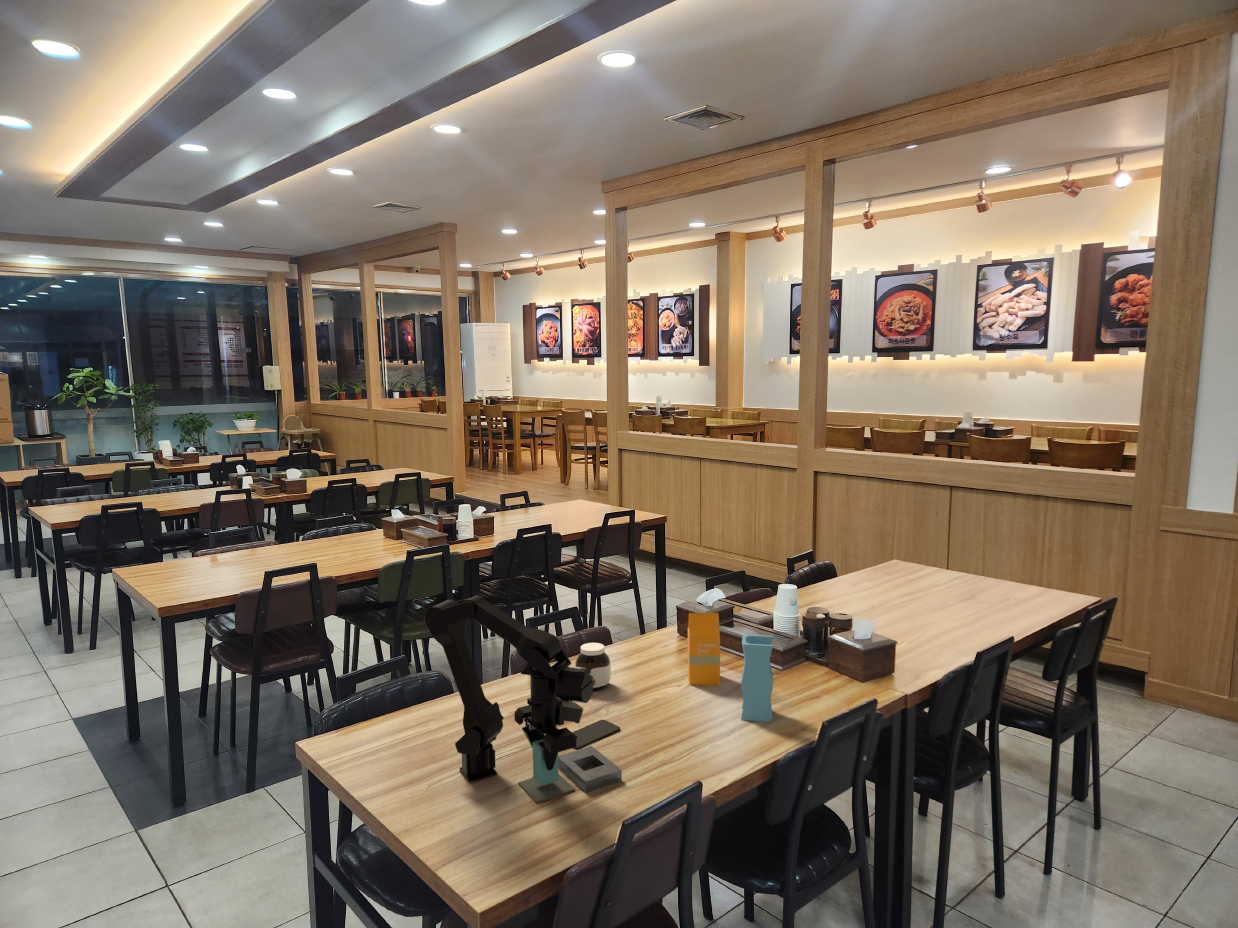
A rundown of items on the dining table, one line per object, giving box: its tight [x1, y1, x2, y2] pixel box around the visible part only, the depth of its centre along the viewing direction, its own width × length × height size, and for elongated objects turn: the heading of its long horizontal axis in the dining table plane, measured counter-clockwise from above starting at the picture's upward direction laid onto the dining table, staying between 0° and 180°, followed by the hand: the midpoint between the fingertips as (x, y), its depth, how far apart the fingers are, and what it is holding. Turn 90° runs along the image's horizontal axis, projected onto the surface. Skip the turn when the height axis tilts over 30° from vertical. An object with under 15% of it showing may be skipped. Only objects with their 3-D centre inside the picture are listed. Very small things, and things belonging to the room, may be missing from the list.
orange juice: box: [687, 612, 721, 686], centre depth 218 cm, size 8×9×20 cm
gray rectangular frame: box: [558, 745, 623, 794], centre depth 167 cm, size 9×13×2 cm
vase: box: [740, 634, 774, 723], centre depth 195 cm, size 8×8×20 cm
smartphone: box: [571, 719, 621, 751], centre depth 186 cm, size 7×1×15 cm
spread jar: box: [574, 642, 612, 692], centre depth 213 cm, size 12×11×12 cm
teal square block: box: [532, 739, 559, 786], centre depth 161 cm, size 4×4×8 cm
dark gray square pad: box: [517, 773, 576, 804], centre depth 162 cm, size 9×9×1 cm
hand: (545, 765), depth 161 cm, fingers closed on teal square block, 4 cm apart
